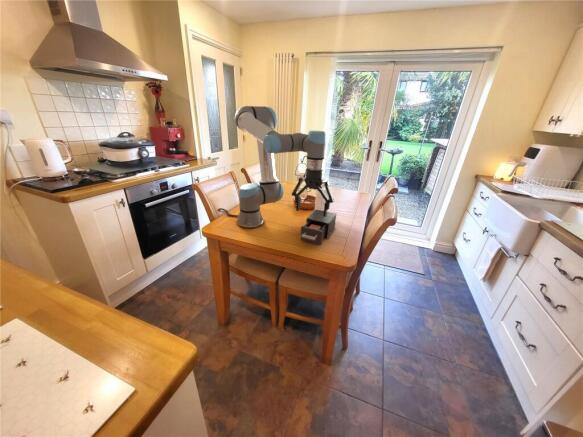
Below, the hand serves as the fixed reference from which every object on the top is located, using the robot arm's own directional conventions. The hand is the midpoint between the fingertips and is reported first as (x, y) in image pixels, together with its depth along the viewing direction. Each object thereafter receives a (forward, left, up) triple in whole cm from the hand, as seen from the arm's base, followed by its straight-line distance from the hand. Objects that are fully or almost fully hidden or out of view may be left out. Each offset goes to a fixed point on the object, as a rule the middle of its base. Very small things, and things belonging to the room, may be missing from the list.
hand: (311, 212), depth 111 cm
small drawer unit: (-10, +16, -19) cm, 27 cm away
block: (-4, +7, -17) cm, 18 cm away
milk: (-24, +28, -19) cm, 42 cm away
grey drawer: (-4, +6, -18) cm, 19 cm away
